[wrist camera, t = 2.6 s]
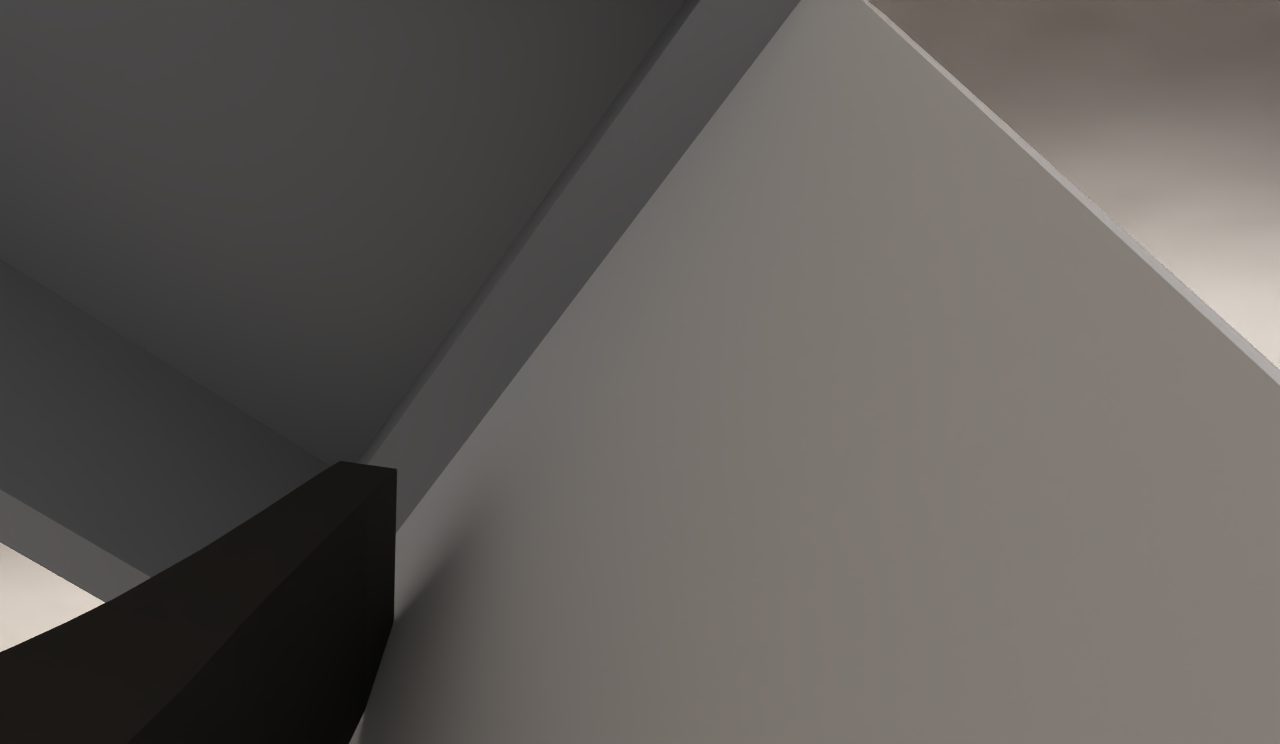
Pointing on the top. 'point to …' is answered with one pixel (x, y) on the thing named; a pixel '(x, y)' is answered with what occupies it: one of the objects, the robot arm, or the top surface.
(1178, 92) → the top surface
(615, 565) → the lid
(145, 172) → the box
